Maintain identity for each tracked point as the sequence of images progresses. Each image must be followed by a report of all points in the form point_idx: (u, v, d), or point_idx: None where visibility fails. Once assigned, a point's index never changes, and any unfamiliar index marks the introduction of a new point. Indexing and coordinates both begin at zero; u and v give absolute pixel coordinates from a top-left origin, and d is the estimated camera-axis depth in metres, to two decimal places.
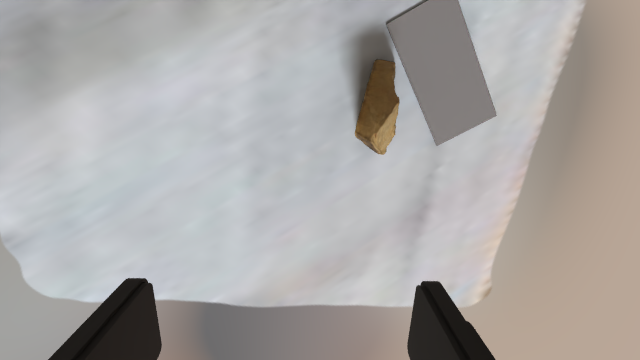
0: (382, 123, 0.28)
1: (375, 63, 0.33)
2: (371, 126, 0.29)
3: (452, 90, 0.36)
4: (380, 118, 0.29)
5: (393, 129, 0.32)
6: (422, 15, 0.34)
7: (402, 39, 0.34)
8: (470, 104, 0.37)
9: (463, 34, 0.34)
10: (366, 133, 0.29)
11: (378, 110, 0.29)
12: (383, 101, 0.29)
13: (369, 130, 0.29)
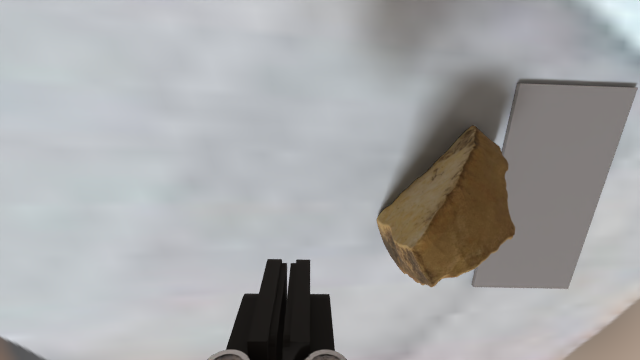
0: (473, 263, 0.13)
1: (477, 132, 0.19)
2: (448, 256, 0.13)
3: (539, 227, 0.23)
4: (472, 250, 0.13)
5: None
6: (573, 102, 0.20)
7: (526, 118, 0.20)
8: (548, 257, 0.24)
9: (603, 162, 0.21)
10: (432, 264, 0.13)
11: (471, 229, 0.14)
12: (485, 215, 0.14)
13: (441, 262, 0.13)
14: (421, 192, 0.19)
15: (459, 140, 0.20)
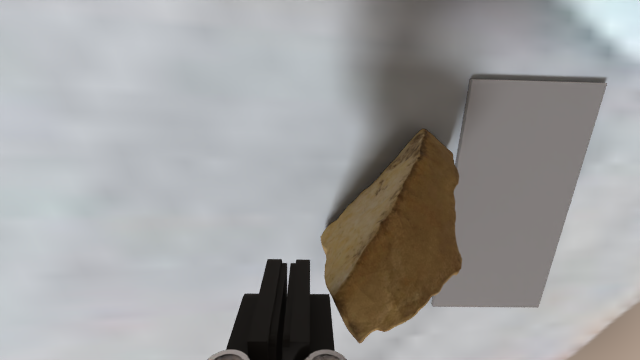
0: (408, 313, 0.10)
1: (425, 138, 0.16)
2: (378, 303, 0.11)
3: (503, 240, 0.20)
4: (408, 294, 0.11)
5: None
6: (534, 100, 0.18)
7: (481, 119, 0.18)
8: (514, 273, 0.21)
9: (572, 168, 0.19)
10: (359, 316, 0.11)
11: (409, 266, 0.11)
12: (426, 245, 0.12)
13: (369, 312, 0.11)
14: (363, 209, 0.16)
15: (408, 146, 0.18)
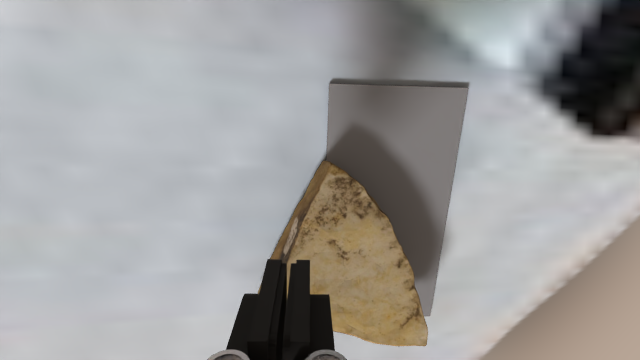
0: None
1: (365, 189, 0.16)
2: None
3: None
4: None
5: None
6: (396, 105, 0.17)
7: (344, 124, 0.17)
8: None
9: (444, 174, 0.19)
10: None
11: None
12: None
13: None
14: (341, 277, 0.16)
15: (330, 190, 0.16)
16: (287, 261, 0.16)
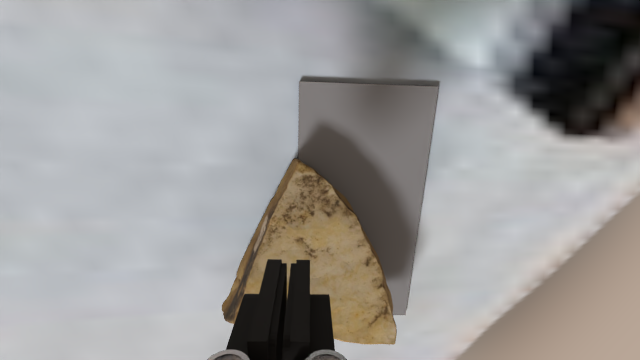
0: (392, 302, 0.19)
1: (332, 187, 0.16)
2: None
3: None
4: (390, 297, 0.19)
5: None
6: (367, 104, 0.17)
7: (315, 122, 0.17)
8: None
9: (416, 172, 0.19)
10: None
11: (386, 286, 0.18)
12: None
13: None
14: None
15: (298, 188, 0.16)
16: (254, 259, 0.16)
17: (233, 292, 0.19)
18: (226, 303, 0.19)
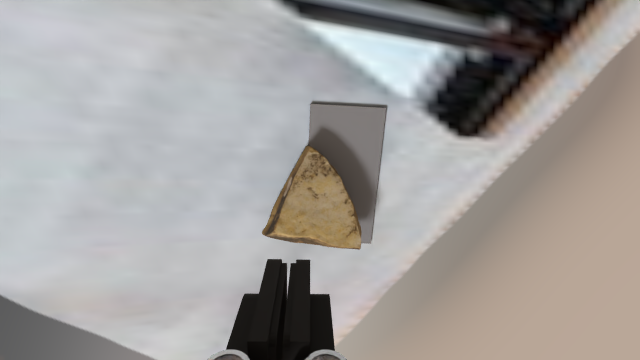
0: None
1: (327, 160, 0.30)
2: (359, 236, 0.33)
3: None
4: (359, 226, 0.33)
5: None
6: (347, 116, 0.32)
7: (318, 126, 0.32)
8: None
9: (375, 155, 0.33)
10: None
11: (357, 219, 0.33)
12: (354, 209, 0.33)
13: None
14: (314, 208, 0.31)
15: (309, 160, 0.30)
16: (285, 198, 0.30)
17: (269, 223, 0.33)
18: (265, 229, 0.33)
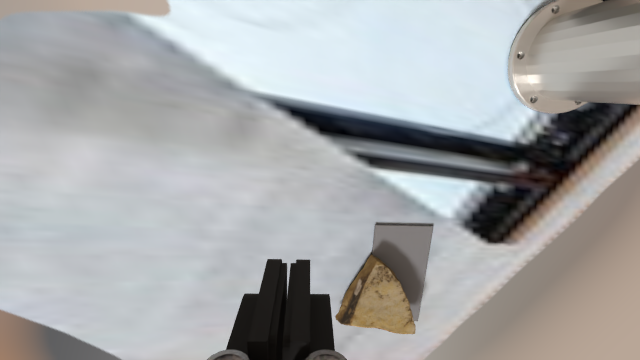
0: (412, 315, 0.43)
1: (390, 270, 0.40)
2: None
3: None
4: (411, 313, 0.43)
5: None
6: (403, 233, 0.41)
7: (380, 240, 0.41)
8: None
9: (423, 259, 0.42)
10: None
11: (410, 309, 0.42)
12: None
13: None
14: (380, 305, 0.40)
15: (376, 271, 0.40)
16: (358, 299, 0.40)
17: (341, 311, 0.43)
18: (338, 316, 0.43)
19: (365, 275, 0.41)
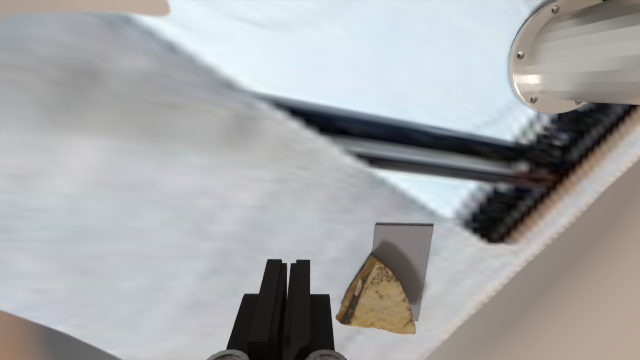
0: (412, 315, 0.43)
1: (390, 270, 0.40)
2: None
3: None
4: (411, 313, 0.43)
5: None
6: (403, 233, 0.41)
7: (381, 240, 0.41)
8: None
9: (423, 259, 0.42)
10: None
11: None
12: None
13: None
14: (380, 305, 0.40)
15: (376, 271, 0.40)
16: (358, 299, 0.40)
17: (342, 311, 0.43)
18: (338, 316, 0.43)
19: (365, 275, 0.41)
